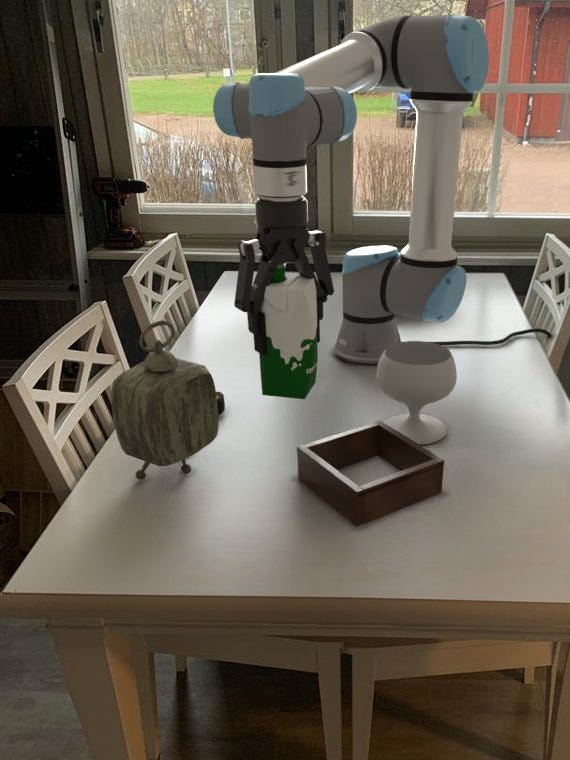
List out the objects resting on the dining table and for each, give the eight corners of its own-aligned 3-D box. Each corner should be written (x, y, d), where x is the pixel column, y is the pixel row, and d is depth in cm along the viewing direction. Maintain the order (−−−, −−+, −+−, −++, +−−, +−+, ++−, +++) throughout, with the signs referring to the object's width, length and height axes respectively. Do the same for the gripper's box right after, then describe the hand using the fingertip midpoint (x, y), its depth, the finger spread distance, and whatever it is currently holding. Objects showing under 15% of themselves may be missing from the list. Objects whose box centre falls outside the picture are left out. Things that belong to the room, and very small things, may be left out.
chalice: (399, 455, 124) (403, 374, 117) (361, 422, 135) (362, 345, 127) (467, 438, 130) (474, 359, 122) (425, 408, 141) (430, 333, 133)
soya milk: (271, 376, 124) (265, 257, 114) (323, 381, 123) (321, 261, 112) (255, 397, 117) (246, 272, 106) (309, 402, 115) (306, 276, 105)
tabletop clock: (186, 445, 127) (168, 304, 114) (227, 458, 123) (213, 314, 110) (124, 481, 116) (97, 331, 103) (166, 497, 112) (143, 343, 99)
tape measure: (225, 405, 141) (223, 387, 139) (226, 421, 135) (224, 402, 133) (189, 408, 140) (186, 390, 138) (188, 423, 134) (186, 405, 132)
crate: (379, 451, 126) (380, 420, 123) (442, 493, 114) (444, 459, 111) (297, 479, 118) (296, 446, 114) (356, 527, 106) (356, 492, 103)
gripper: (224, 208, 96) (237, 368, 108) (358, 193, 107) (357, 339, 119) (200, 199, 101) (215, 352, 113) (330, 186, 112) (331, 326, 124)
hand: (287, 346), depth 116 cm, fingers closed on soya milk, 9 cm apart
